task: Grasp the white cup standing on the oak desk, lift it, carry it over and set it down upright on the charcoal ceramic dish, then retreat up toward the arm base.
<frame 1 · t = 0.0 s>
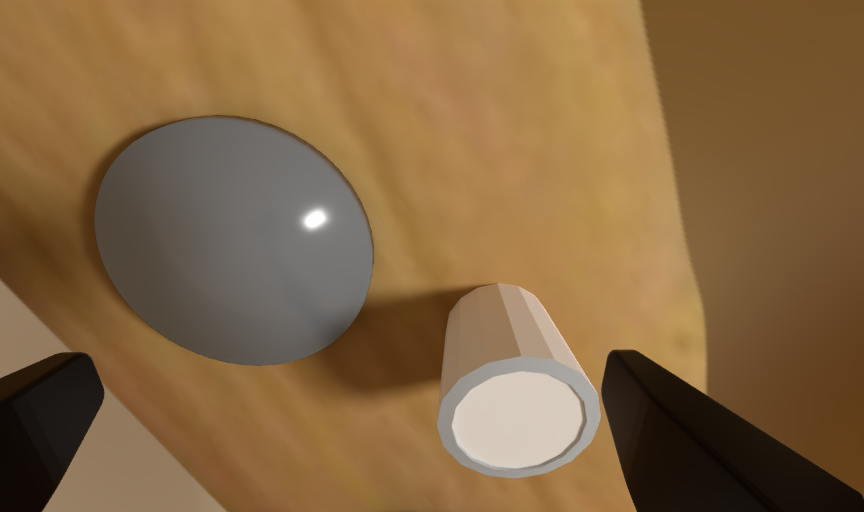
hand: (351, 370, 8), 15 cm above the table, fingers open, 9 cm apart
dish: (245, 247, 23), on the table
white cup: (496, 325, 25), on the table
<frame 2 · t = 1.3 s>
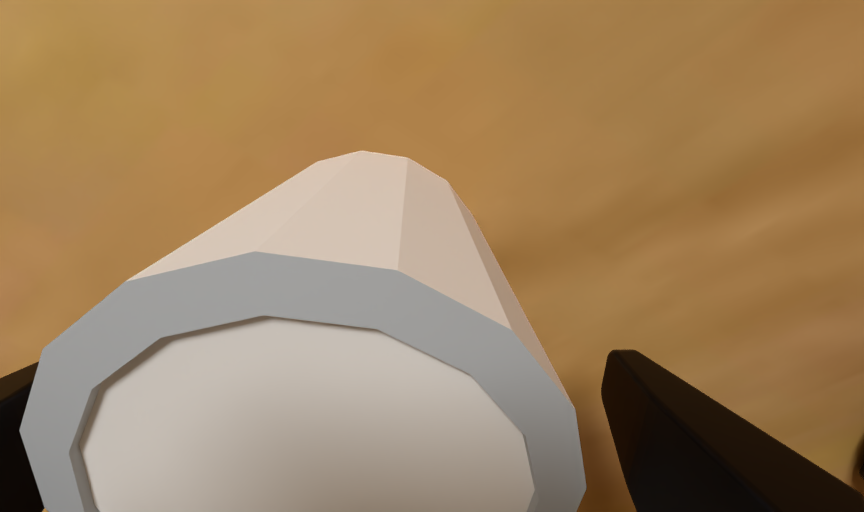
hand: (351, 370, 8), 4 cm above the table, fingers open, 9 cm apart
white cup: (374, 254, 12), on the table
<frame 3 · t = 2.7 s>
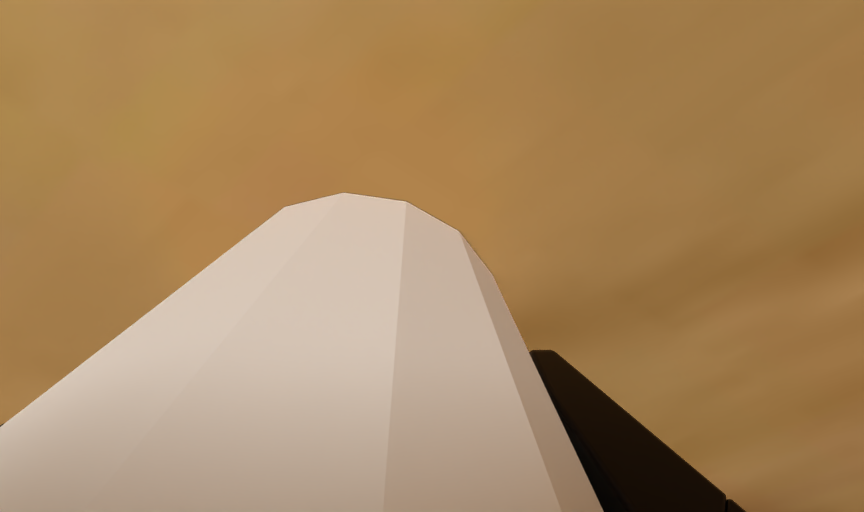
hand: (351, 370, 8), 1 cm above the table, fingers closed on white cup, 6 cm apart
white cup: (363, 321, 9), on the table, touching gripper
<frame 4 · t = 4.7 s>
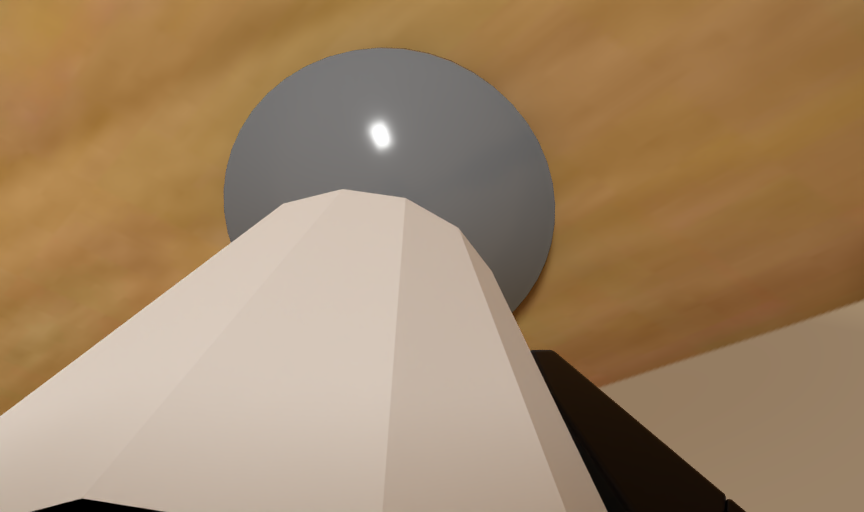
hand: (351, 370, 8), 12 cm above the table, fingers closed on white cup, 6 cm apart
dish: (392, 217, 19), on the table
white cup: (362, 318, 9), point 10 cm above the table, touching gripper
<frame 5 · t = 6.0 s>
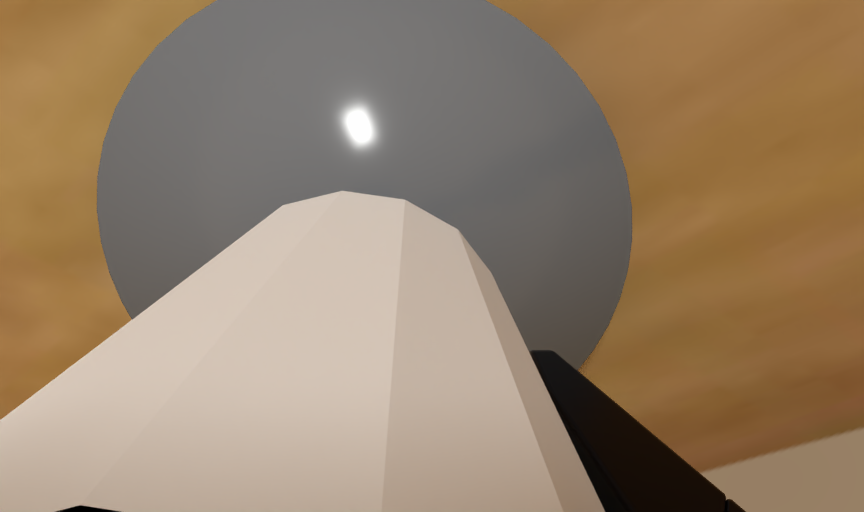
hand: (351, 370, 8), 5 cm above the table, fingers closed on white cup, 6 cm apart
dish: (374, 251, 13), on the table
white cup: (361, 320, 9), point 4 cm above the table, touching gripper
when the fingers open (4 cm above the table, at t = 7.1 s): white cup drops 1 cm, resting on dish.
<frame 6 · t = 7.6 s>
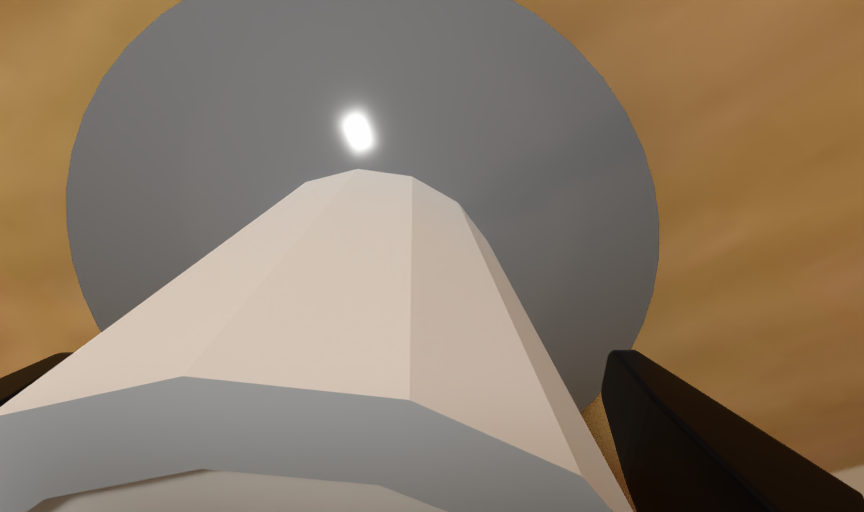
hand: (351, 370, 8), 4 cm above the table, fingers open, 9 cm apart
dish: (374, 268, 11), on the table
white cup: (373, 286, 11), point 1 cm above the table, touching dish
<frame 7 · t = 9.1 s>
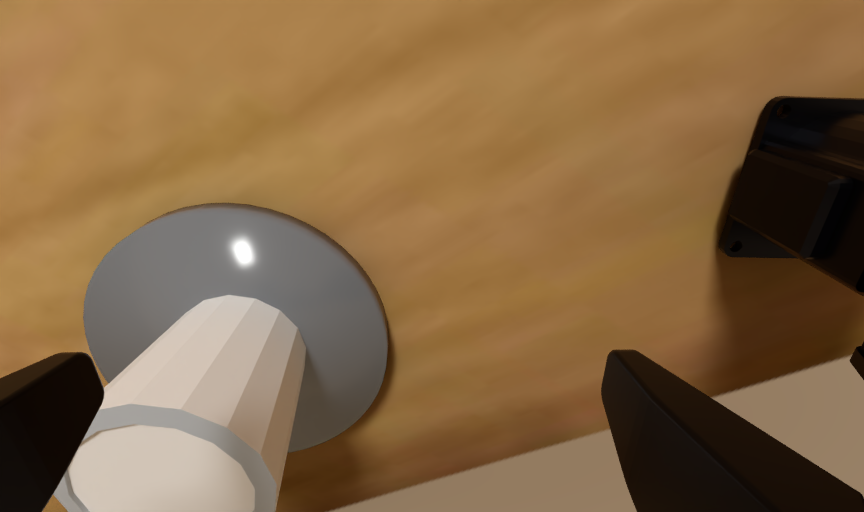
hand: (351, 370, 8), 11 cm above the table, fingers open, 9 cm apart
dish: (249, 335, 21), on the table
white cup: (243, 346, 20), point 1 cm above the table, touching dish
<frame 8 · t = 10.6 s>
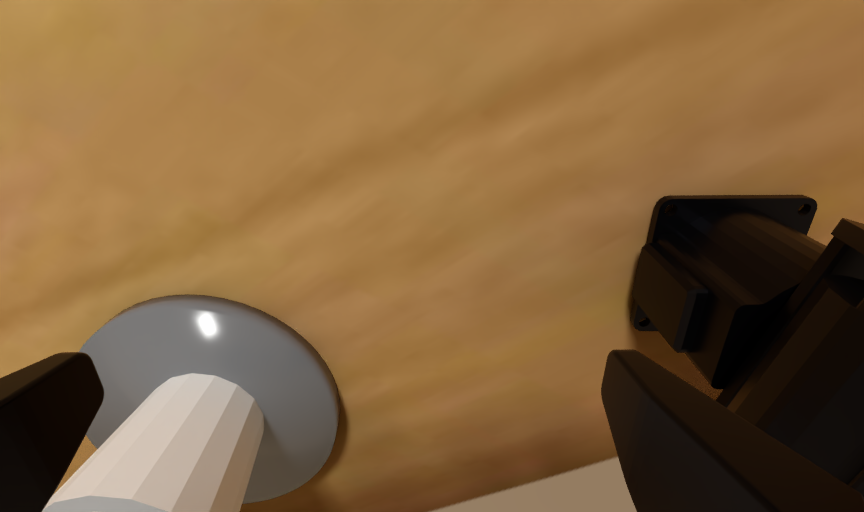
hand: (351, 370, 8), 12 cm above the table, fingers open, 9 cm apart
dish: (216, 401, 24), on the table
white cup: (209, 414, 23), point 1 cm above the table, touching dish
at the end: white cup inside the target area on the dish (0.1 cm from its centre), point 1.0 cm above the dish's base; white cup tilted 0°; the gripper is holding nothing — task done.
